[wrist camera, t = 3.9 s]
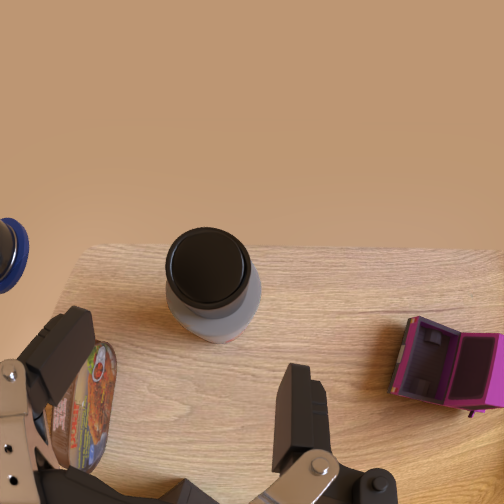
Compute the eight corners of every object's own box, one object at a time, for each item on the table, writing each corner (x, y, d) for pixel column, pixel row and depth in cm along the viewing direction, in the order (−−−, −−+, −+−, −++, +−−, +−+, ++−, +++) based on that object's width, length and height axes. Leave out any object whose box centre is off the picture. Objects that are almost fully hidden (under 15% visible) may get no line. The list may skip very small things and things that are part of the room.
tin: (105, 464, 25) (73, 489, 17) (81, 454, 25) (45, 475, 17) (123, 344, 30) (90, 340, 22) (98, 336, 30) (61, 329, 22)
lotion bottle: (257, 310, 32) (299, 247, 13) (227, 354, 31) (224, 358, 12) (213, 280, 33) (194, 182, 14) (182, 323, 31) (117, 278, 12)
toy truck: (464, 417, 29) (515, 423, 20) (379, 399, 30) (428, 409, 20) (483, 343, 32) (533, 334, 23) (404, 312, 33) (455, 296, 24)
